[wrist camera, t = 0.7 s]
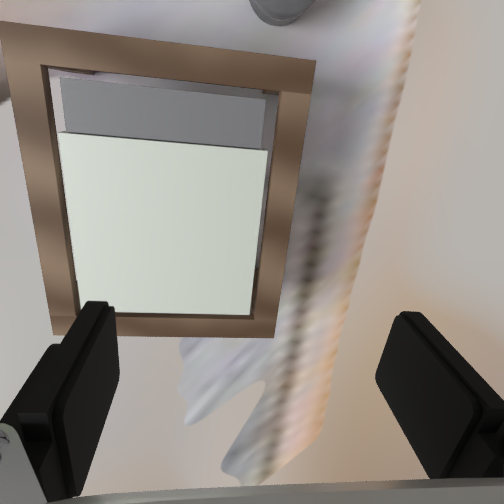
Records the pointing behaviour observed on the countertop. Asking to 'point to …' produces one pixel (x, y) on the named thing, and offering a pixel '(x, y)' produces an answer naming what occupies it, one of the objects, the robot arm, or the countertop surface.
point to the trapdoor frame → (167, 67)
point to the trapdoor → (163, 196)
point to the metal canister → (279, 10)
